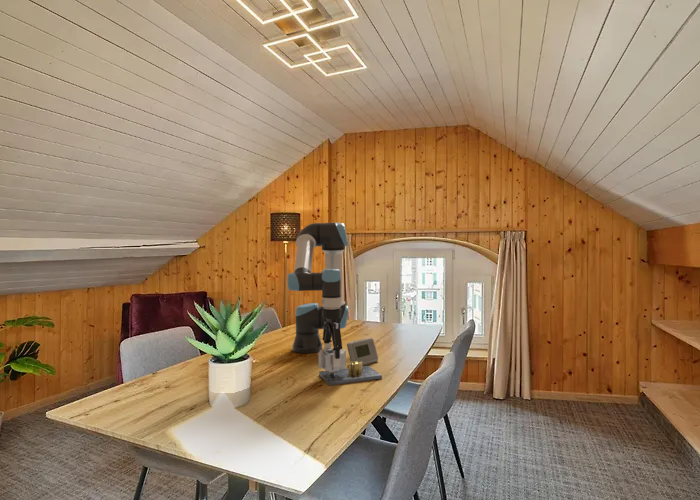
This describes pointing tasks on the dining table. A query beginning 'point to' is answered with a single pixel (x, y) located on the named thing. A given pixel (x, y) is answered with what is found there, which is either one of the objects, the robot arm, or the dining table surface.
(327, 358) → the planet gear
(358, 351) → the digital clock
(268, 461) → the dining table surface
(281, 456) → the dining table surface
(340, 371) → the carrier
